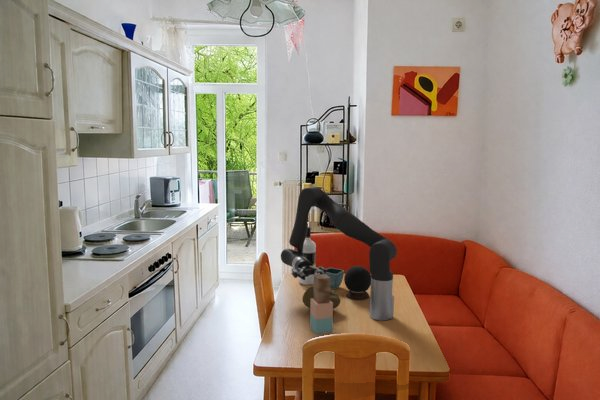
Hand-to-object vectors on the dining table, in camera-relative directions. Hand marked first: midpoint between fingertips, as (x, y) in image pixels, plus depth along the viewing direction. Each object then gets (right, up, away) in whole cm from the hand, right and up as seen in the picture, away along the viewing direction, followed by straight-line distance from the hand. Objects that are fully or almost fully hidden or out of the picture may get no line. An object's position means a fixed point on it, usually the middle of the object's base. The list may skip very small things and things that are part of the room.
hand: (314, 276), depth 184 cm
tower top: (+3, -14, -6) cm, 16 cm away
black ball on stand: (+22, -15, +32) cm, 42 cm away
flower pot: (+11, -13, +45) cm, 48 cm away
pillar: (+3, -8, -7) cm, 11 cm away
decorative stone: (+4, -18, +14) cm, 23 cm away
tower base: (+3, -20, -6) cm, 21 cm away
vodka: (-2, -12, +52) cm, 54 cm away
